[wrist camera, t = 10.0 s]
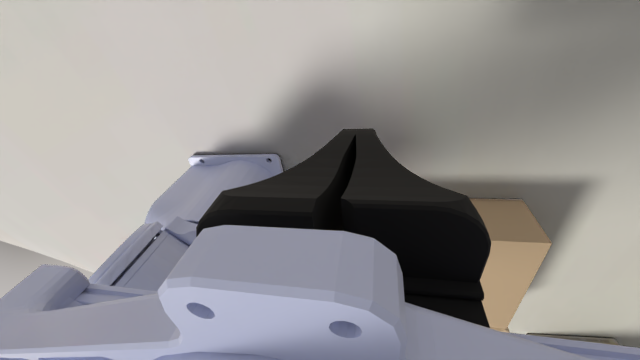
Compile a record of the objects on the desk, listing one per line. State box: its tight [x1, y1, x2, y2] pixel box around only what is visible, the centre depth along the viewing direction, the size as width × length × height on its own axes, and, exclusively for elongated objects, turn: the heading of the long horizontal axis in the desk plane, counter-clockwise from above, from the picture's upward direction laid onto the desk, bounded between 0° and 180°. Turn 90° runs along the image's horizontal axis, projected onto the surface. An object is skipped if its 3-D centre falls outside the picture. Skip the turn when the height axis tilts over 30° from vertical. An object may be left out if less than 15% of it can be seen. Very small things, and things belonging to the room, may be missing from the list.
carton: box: [469, 198, 552, 329], centre depth 26 cm, size 14×12×5 cm
